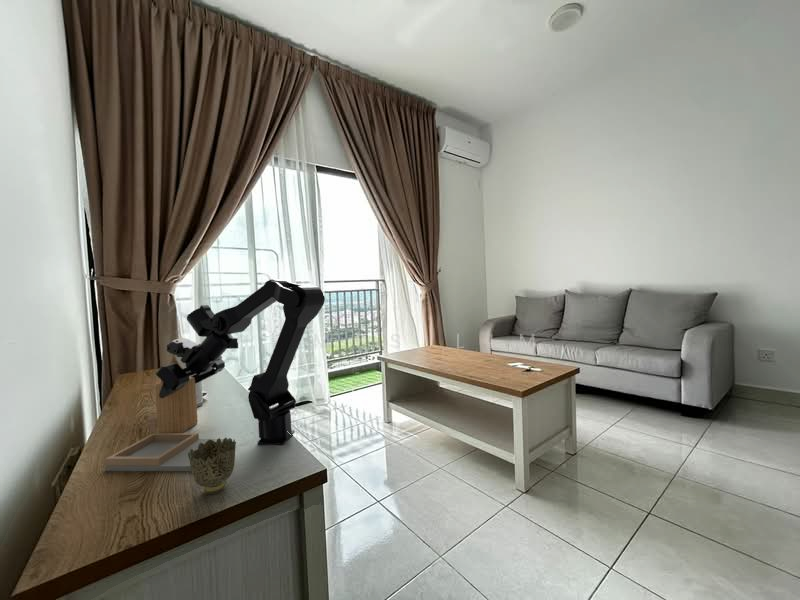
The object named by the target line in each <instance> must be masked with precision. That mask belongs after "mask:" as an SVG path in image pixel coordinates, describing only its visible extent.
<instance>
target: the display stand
mask: <svg viewBox="0 0 800 600" xmlns="http://www.w3.org/2000/svg"><path fill="white" fill-rule="evenodd" d="M199 437H200V436H199V432H183V433H151V434H149V435H148V436H146V437H143V438H142V439H140V440H138V441H136V442H135V443H133V444H130V445H129V446H127V447H124V448H123V449H121V450H119V451H117V452H116V453H114V454H112V455H109V456H108V457H106V458H105V461H106V462H105V463H106V464H105V465H104V471H105V472H192V471H191V466H190V461H189V457H188V453H189V452H190V449H193V450H194V451H195V450H198V445H199V443H203V444H205V442H207V441H208V440H209V439H210V440H213V441H214V442H217V439H218V438H199ZM220 439H221V441H223V440H224V438H220ZM227 439H228V440H229V438H227ZM231 440H232V441H233V438H231Z"/></svg>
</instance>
